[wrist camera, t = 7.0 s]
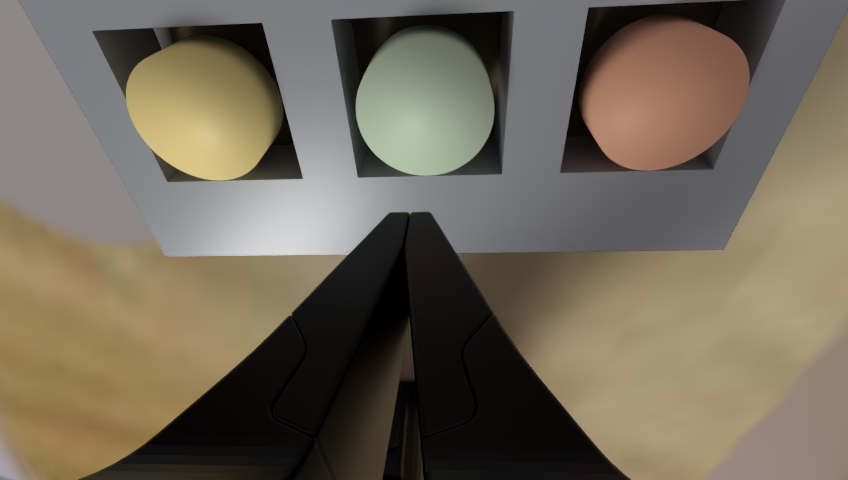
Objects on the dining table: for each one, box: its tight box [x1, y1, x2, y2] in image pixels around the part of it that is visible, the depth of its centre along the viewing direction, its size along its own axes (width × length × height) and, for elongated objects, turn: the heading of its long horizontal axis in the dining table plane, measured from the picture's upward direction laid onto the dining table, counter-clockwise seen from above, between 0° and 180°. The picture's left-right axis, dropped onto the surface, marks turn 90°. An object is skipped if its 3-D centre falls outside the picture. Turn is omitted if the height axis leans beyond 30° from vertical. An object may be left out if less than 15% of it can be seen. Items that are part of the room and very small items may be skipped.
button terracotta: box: [578, 14, 750, 171], centre depth 14 cm, size 4×4×3 cm
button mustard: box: [126, 35, 283, 181], centre depth 15 cm, size 4×4×3 cm
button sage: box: [356, 25, 494, 176], centre depth 15 cm, size 4×4×3 cm
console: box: [18, 0, 848, 256], centre depth 15 cm, size 13×24×3 cm, turn 93°
